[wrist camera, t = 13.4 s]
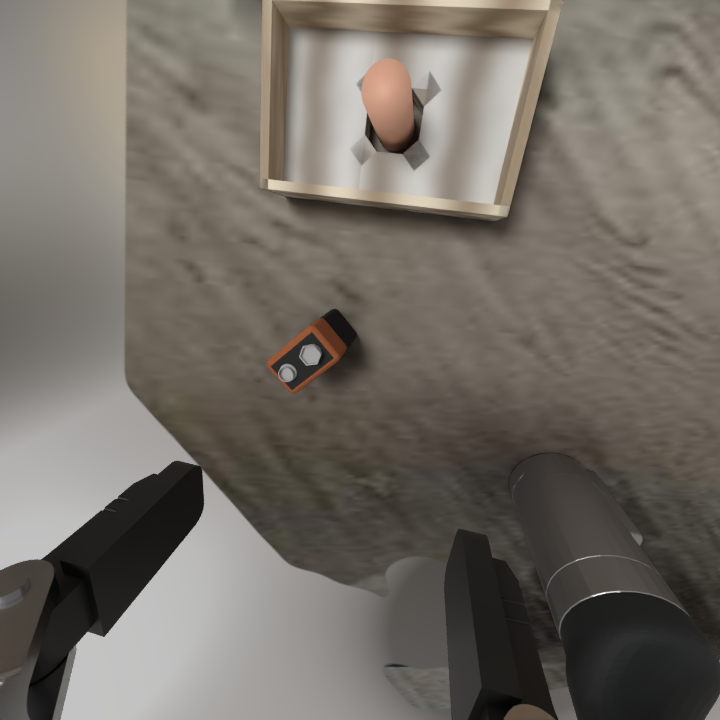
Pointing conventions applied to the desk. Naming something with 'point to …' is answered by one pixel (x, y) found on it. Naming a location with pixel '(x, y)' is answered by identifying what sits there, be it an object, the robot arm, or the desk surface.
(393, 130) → the peg
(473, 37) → the box
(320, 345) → the battery
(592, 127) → the desk surface
